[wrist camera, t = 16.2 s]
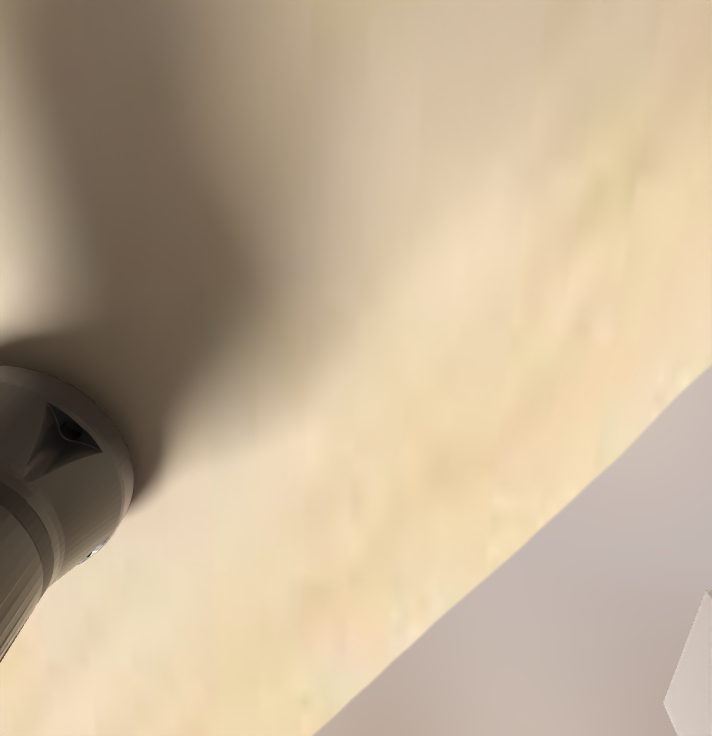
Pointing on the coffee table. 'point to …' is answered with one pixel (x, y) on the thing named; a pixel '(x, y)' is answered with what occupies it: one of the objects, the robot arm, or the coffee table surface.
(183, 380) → the coffee table surface
